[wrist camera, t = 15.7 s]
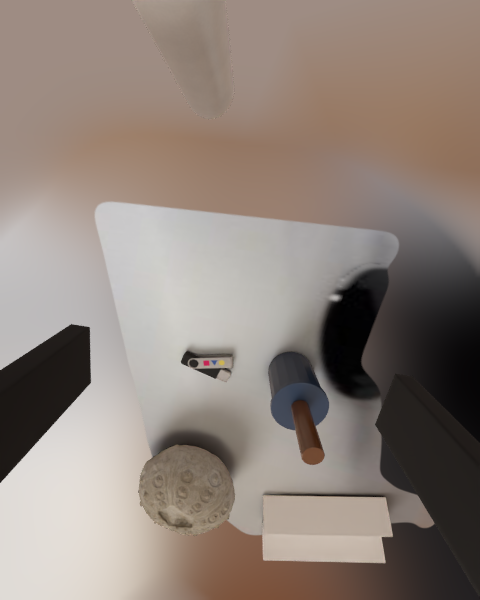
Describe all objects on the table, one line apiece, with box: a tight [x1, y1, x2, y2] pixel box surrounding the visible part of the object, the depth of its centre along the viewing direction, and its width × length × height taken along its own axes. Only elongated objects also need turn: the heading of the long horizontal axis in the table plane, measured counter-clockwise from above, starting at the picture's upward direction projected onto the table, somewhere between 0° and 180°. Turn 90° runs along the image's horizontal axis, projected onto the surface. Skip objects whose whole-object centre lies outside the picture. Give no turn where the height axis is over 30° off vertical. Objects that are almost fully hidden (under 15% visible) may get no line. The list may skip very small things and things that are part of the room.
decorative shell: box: [138, 444, 235, 536], centre depth 49 cm, size 18×18×10 cm
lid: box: [271, 380, 329, 465], centre depth 35 cm, size 8×8×9 cm
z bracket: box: [262, 495, 393, 563], centre depth 56 cm, size 12×25×6 cm
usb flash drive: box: [181, 352, 233, 382], centre depth 46 cm, size 9×5×1 cm, turn 63°
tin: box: [268, 352, 320, 397], centre depth 43 cm, size 7×7×8 cm
